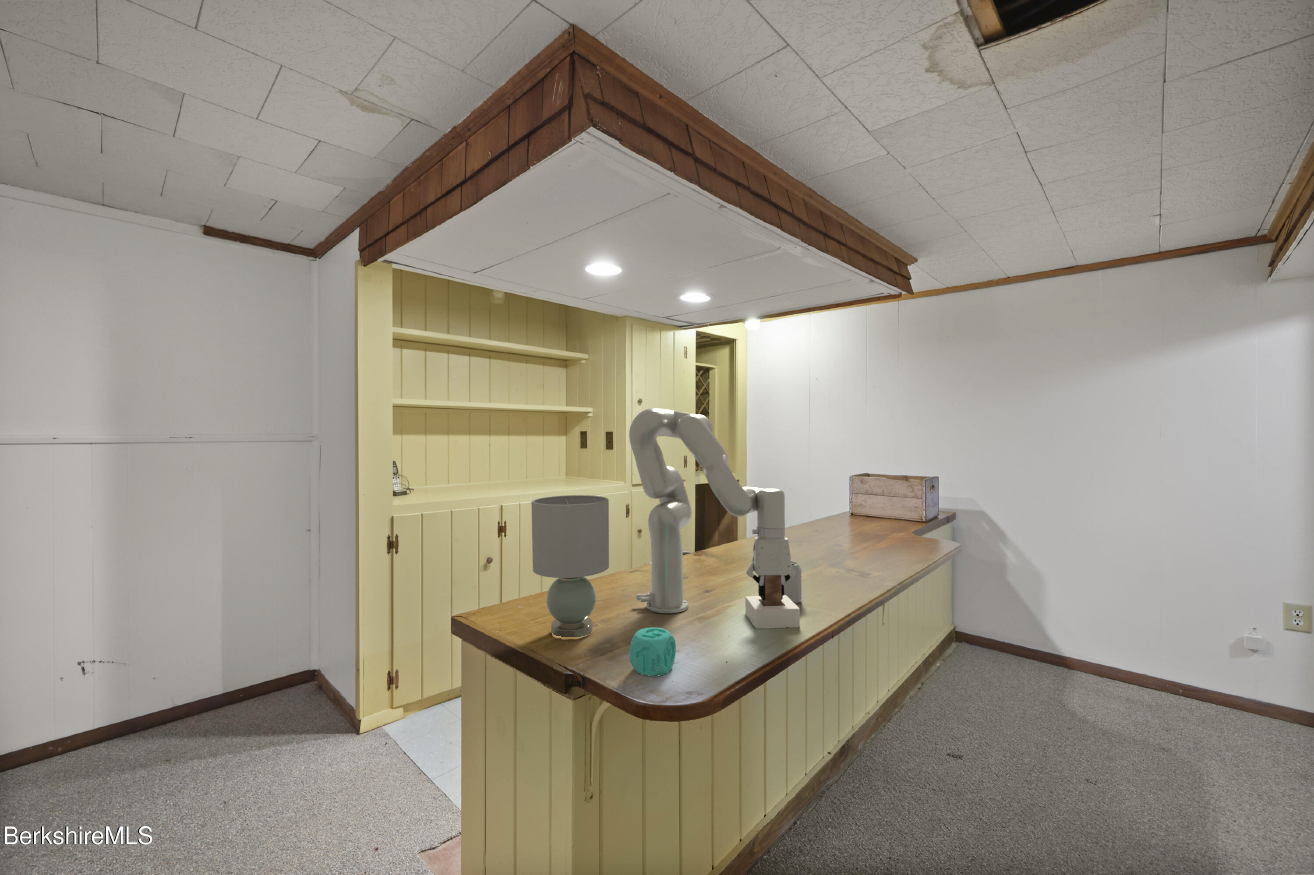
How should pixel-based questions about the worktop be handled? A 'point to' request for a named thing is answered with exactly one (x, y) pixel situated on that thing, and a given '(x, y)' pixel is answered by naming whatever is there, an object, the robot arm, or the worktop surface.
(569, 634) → the lamp
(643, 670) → the decorative dice
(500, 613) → the worktop surface
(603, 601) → the worktop surface
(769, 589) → the peg
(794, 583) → the can
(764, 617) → the socket block
